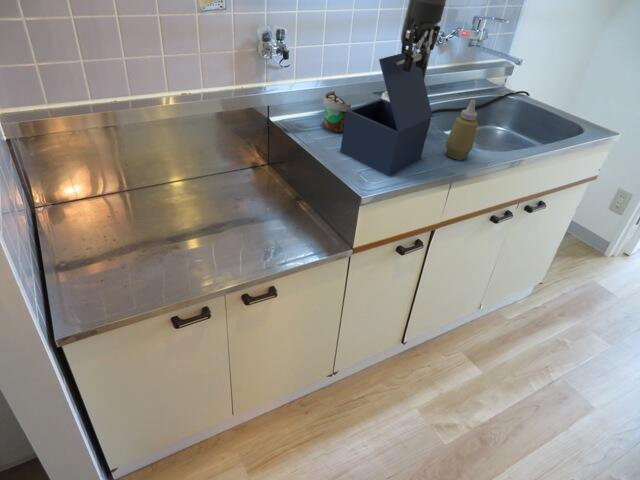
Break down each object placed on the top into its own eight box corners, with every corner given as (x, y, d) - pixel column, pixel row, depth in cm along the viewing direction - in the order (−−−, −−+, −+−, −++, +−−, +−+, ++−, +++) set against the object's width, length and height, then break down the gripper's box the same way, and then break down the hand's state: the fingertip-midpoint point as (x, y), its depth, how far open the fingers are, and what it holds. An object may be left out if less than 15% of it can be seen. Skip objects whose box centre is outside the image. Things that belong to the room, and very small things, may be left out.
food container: (314, 120, 157) (317, 91, 151) (330, 119, 159) (334, 90, 153) (329, 136, 148) (333, 106, 142) (347, 135, 151) (351, 105, 145)
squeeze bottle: (459, 149, 152) (476, 94, 141) (473, 161, 146) (493, 105, 135) (438, 150, 149) (454, 95, 138) (452, 163, 143) (470, 106, 132)
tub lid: (378, 59, 120) (395, 52, 116) (414, 50, 130) (430, 44, 126) (397, 132, 124) (414, 128, 121) (430, 117, 135) (447, 113, 131)
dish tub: (340, 151, 141) (346, 110, 133) (373, 137, 152) (381, 98, 144) (388, 176, 132) (398, 133, 124) (420, 158, 143) (431, 118, 135)
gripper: (428, 5, 107) (409, 78, 117) (458, 0, 116) (439, 69, 126) (401, -4, 110) (385, 68, 121) (432, -7, 120) (415, 60, 130)
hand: (413, 68), depth 124 cm, fingers closed on tub lid, 5 cm apart
